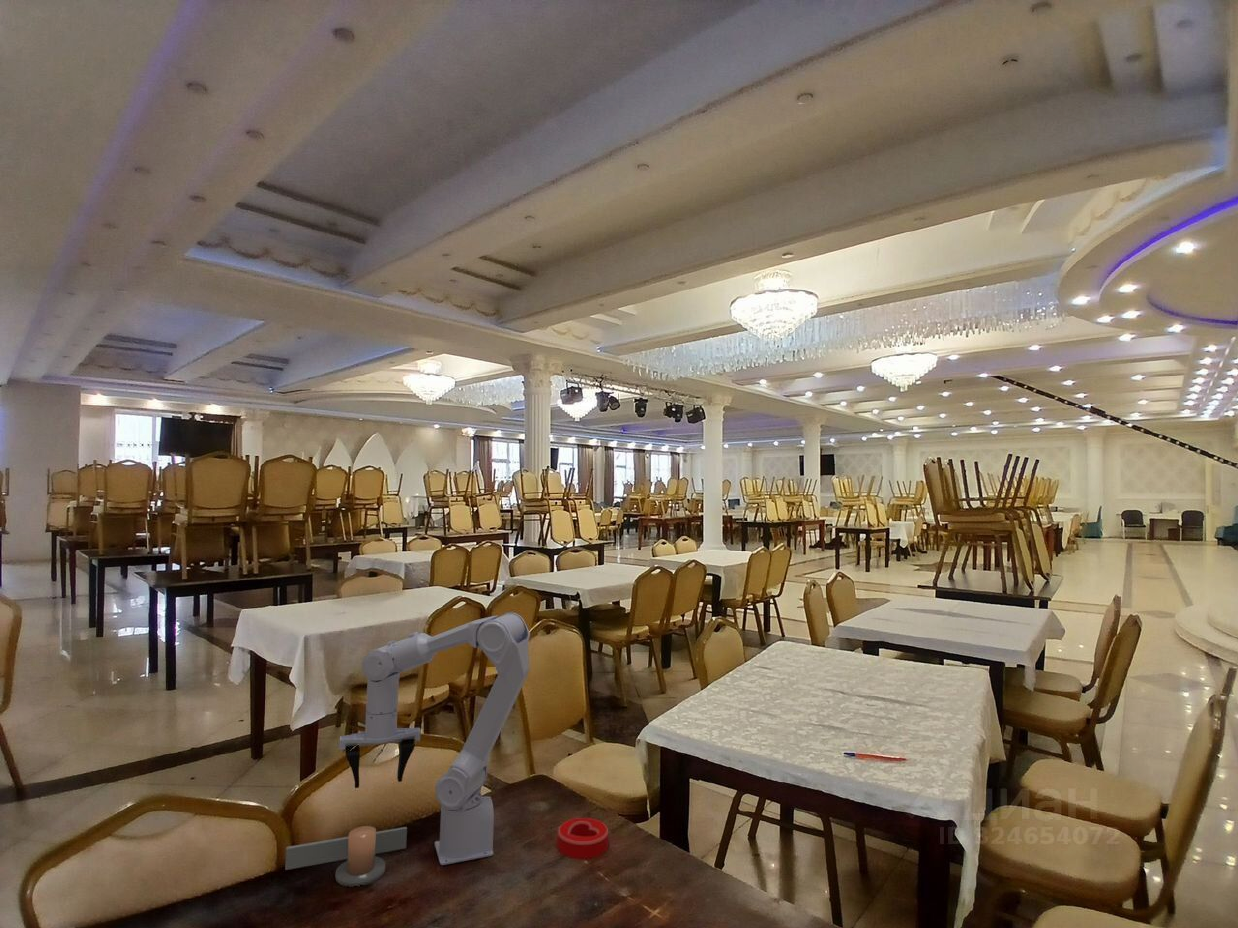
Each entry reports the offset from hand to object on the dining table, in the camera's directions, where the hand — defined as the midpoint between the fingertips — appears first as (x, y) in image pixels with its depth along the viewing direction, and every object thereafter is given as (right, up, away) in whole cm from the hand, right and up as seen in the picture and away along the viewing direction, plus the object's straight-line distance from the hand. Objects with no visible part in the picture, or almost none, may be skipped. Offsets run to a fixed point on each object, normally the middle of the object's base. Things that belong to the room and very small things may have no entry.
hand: (378, 782), depth 122 cm
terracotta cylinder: (+1, -9, -12) cm, 15 cm away
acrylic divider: (-3, -10, -7) cm, 13 cm away
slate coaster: (+1, -10, -12) cm, 15 cm away
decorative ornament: (+39, -12, -1) cm, 41 cm away
